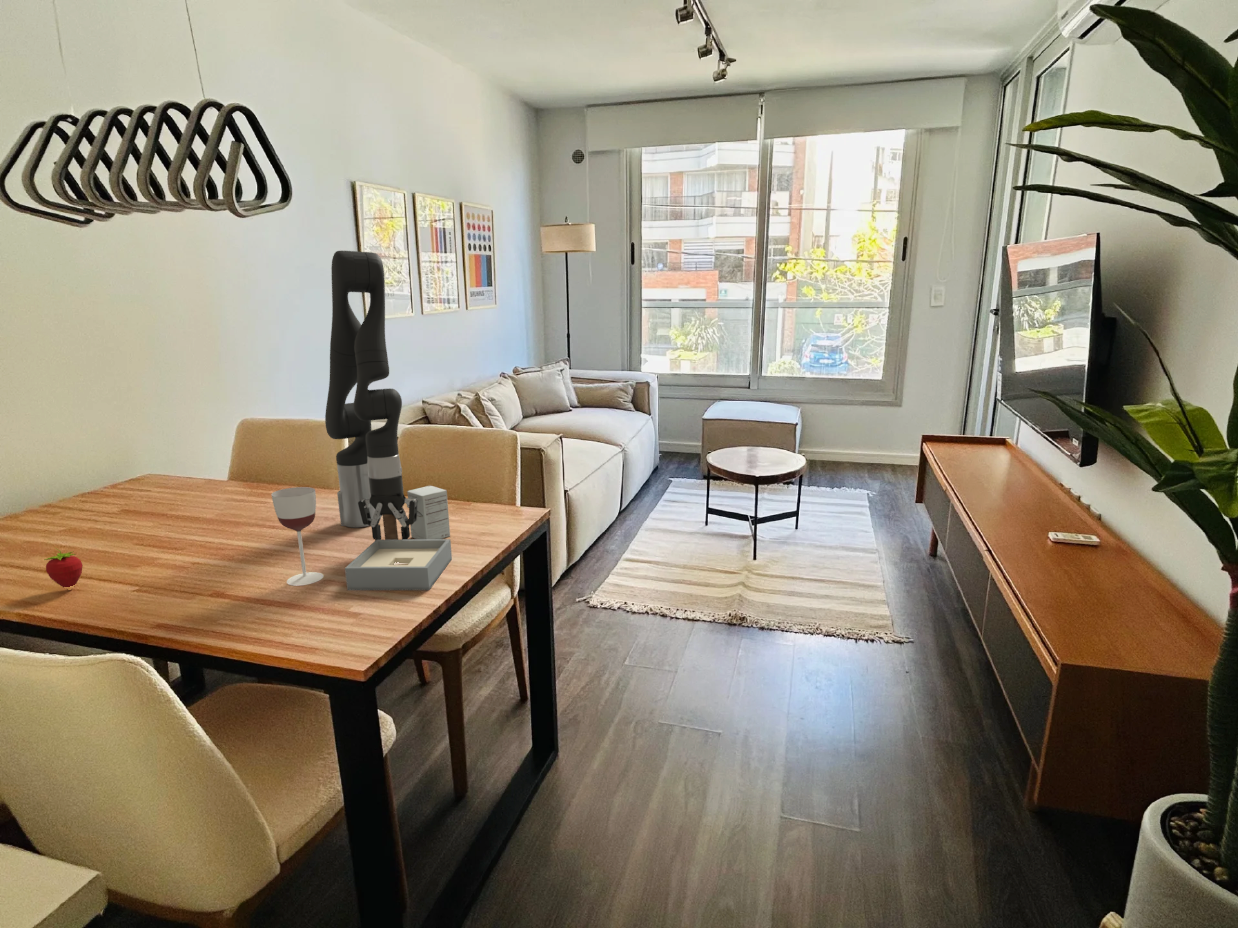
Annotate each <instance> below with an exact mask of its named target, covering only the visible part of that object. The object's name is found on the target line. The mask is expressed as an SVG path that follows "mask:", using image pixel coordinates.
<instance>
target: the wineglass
mask: <svg viewBox="0 0 1238 928" xmlns="http://www.w3.org/2000/svg"><path fill="white" fill-rule="evenodd" d="M271 500H272V504H273V508H274V512H275V514H276V517H277V520H278V522H279V523H280V524H281V525H282V526H283V527H285V528H287V529H289V530H292V531H295V532H296V535H297V543H298V548H299V549H298V550H299V556H300V565H301V573H299V574H295V575H292V576H291V577H289V578H288V579H287V580H286V584H288V585H289V586H295V587H296V586H297V587H298V586H306V585H311V584H315V583H317V582H319V581H321V580H322V579H323V578H324V574H323V573H321V572H316V571H312V572H311V571H310V572H307V569H306V568H307V567H306V560H305V554H304V545H303V538H302V530H304V529H306V528H307V527H309V526H310V525H311V524H312V523H313V522H314V520H315V517H316V508H317V495H316V489H315V488H313V487H309V486H299V487H298V486H297V487H289V488H281V489H278V490H275V491H273V492H272V493H271Z"/></svg>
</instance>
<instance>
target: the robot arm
mask: <svg viewBox="0 0 1238 928" xmlns="http://www.w3.org/2000/svg"><path fill="white" fill-rule="evenodd" d="M330 269H331V301H332V307H331V308H332V309H331V310H332V314H331V315H332V317H331V331H330V345H329V347H330V349H329V381H328V382H329V383H328V392H327V400H326V407H325V415H324V416H325V417H324V418H325V419H324V421H325V422H324V424H325V429H326V434H327V435H328V436H329V437H330V439H332V440H344V439H353V438H355V439H354V441H353V442H352V443H350V444H349V446H346V447H345V448H343V449H341V450H339V451H337V453H336V456H335V458H336V467H337V475H338V484H339V485H338V486H339V491H337V501H338V502H337V503H338V510H339V511H338V512H339V517H340V518H339V519H340V521H339V522H340V526H341V527H342V526H344V527H348V528H364V527H369V526H370V527H371V534H372V538H373V540H374V541H375V540H382V532H381V531H382V530H381V524H379V523H380V521H381V518H383V515H394V516H395V517H396V521H397V520H398V522H399V524H400V525H401V526H400V533H401V539H410V536H411V529H410V525H412V524H413V523H414V522H415V521H416V520H417V504H418V500H417V498H414V499H408V497H406V496H405V493H404V484H403V474H402V473H403V469H402V464H401V463H402V462H401V458H400V454H399V452H400V451H399V443H398V429H399V422H400V417H401V412H402V407H403V406H402V405H403V399H402V396H401V394H400V393H399V392H398V391H397V390H396V389H394V388H378V389H369V386H370V385H371V384H372V383H375V382H378V381H381V380H385V379H386V378H388V377H389V376H390V366H389V359H388V352H387V351H388V350H387V344H386V343H387V342H386V324H385V323H386V283H385V268H384V263H383V261H382V258H381V257H380V255H379V254H378V253H376V252H371V251H370V252H369V251H354V250H337V251H335V252H334V253H333V256H332V259H331V268H330ZM349 293H366V294H367V293H368V294H369V298H370V301H369V307H368V311H367V313H366V316H365V318H364V319H363V322H362V323H361V322H360V321H359V319H358V318H357V316H356V314H355V313H354V311H353V309H352V307H351V305H350V302H349ZM355 386H356V388H355V392H354V393H355V394H354V399H353V402H348V403H346V401H347V398H348V396H349V394H350V393H351V391H352V389H353V388H354V387H355ZM378 420H380V421H382V420H386V421H385V424H384V425H383V426H381V427H379V428H376V429H372V421H378ZM405 504H406V507H407V509H408V516H407V512H406V511H405V509H404V505H405Z"/></svg>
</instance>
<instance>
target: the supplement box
mask: <svg viewBox="0 0 1238 928" xmlns="http://www.w3.org/2000/svg"><path fill="white" fill-rule="evenodd" d="M406 493H407V499H414V498H417V500H418V504H417V520H416V521H415V522H414V523H413V524H412V525H409V528H410V536H411V538H412V539H413V538H414V539H447V538H449V537H451V530H450V517H449V516H450V515H449V504H448V492H447V489H443V488H439V487H437V486H433V485H426V486H423V487H419V488H418V487H417V488H415V489H409V490H407V491H406Z"/></svg>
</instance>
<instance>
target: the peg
mask: <svg viewBox="0 0 1238 928" xmlns="http://www.w3.org/2000/svg"><path fill="white" fill-rule="evenodd" d="M382 523H383V533H384V540H399V535H398V534H399V533H398V523H397V519H396V517H395V516H394V515H382Z"/></svg>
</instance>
